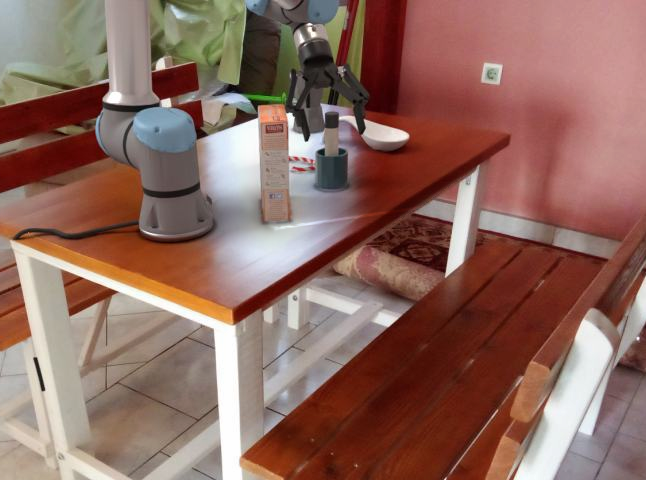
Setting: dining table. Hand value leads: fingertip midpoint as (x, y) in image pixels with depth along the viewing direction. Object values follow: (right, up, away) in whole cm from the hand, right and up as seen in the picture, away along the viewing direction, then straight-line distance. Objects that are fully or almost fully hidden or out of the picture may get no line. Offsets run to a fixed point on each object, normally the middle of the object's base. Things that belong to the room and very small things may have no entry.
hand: (335, 135), depth 157 cm
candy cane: (-8, -1, +23) cm, 24 cm away
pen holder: (0, -9, +9) cm, 13 cm away
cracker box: (-13, -17, -2) cm, 22 cm away
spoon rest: (+12, +7, +33) cm, 36 cm away
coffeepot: (-2, +16, +49) cm, 52 cm away
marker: (0, -9, +8) cm, 12 cm away
